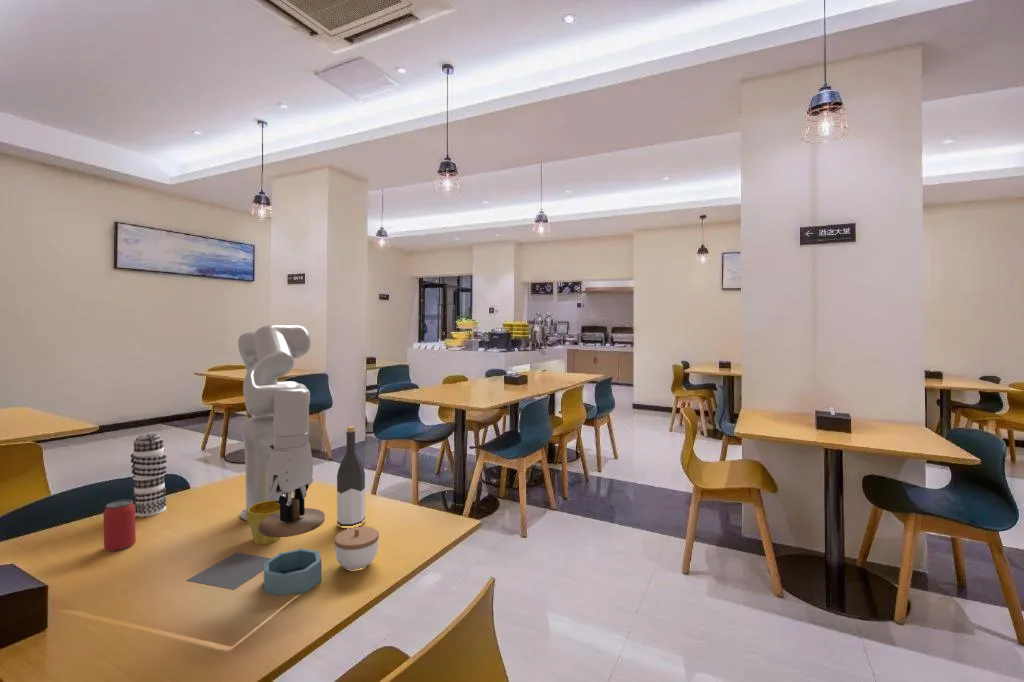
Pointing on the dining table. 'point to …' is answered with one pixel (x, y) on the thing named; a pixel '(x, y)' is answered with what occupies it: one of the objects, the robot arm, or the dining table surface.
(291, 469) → the robot arm
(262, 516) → the plant pot
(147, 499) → the decorative candle
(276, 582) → the bowl
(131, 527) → the beer can
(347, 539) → the lidded jar
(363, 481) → the wine bottle
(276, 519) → the lid
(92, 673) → the dining table surface
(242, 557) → the mat
